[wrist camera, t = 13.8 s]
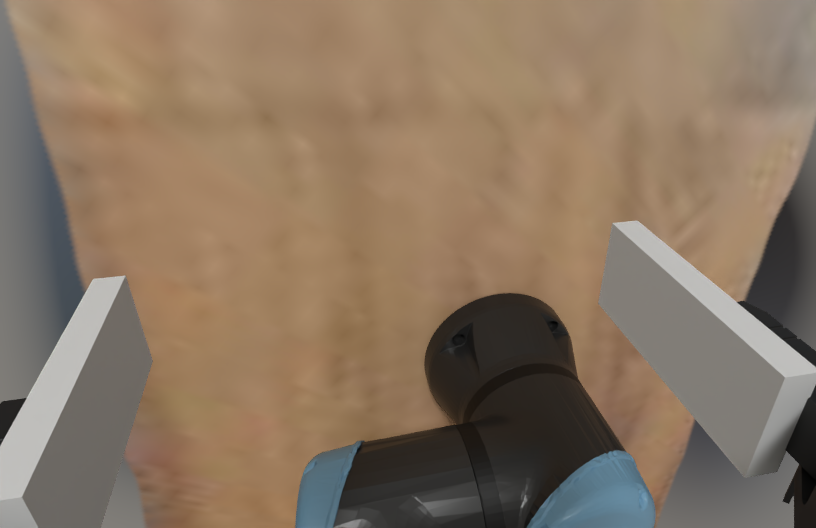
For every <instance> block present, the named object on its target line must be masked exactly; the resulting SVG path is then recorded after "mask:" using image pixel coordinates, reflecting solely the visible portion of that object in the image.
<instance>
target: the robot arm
mask: <svg viewBox="0 0 816 528" xmlns="http://www.w3.org/2000/svg"><path fill="white" fill-rule="evenodd" d="M598 304H599V305H600V306H601V307H602V309H603V310H604V311H605V312H606V313H607V315H608V316H609V317H610V318H611V319H612V320H613V322H614V323H615V324H616V325H617V326H618V328H619V329H620V330H621V331H622V332H623V334H624V335H625V336H626V337H627V338H628V340H629V341H630V342H631V343H632V344H633V345H634V347H635V348H636V349H637V350H638V351H639V353H640V354H641V355H642V356H643V357H644V359H645V360H646V361H647V362H648V363H649V365H650V366H651V367H652V368H653V369H654V370H655V372H656V373H657V374H658V375H659V376H660V378H661V379H662V380H663V381H664V382H665V384H666V385H667V386H668V387H669V388H670V390H671V391H672V392H673V393H674V394H675V395H676V397H677V398H678V399H679V400H680V401H681V403H682V404H683V405H684V406H685V407H686V409H687V410H688V411H689V412H690V413H691V415H692V416H693V417H694V418H695V419H696V420H697V422H698V423H699V424H700V425H701V426H702V427H703V429H704V430H705V431H706V432H707V433H708V435H709V436H710V437H711V438H712V439H713V441H714V442H715V443H716V444H717V445H718V447H719V448H720V449H721V450H722V451H723V453H724V454H725V455H726V456H727V457H728V459H729V460H730V461H731V462H732V463H733V465H734V466H735V467H736V468H737V469H738V470H739V472H740V473H741V474H742V475H743V476H744V478H746V477H752V476H757V475H763V474H768V473H774V472H777V471H778V469H779V467H780V464H781V462H782V460H783V457H784V455H785V453H786V451H787V452H788V453H789V454H790V455H791V456H792V457H793V458H794V459H795V460H796V461H797V462H798V463H799V466H798V468H797V470H796V473H795V475H794V477H793V479H792V481H791V483H790V485H789V488H788V490H787V492H786V494H785V497H784V499H783V501H784V502H786V503H788V504H789V502H790V500H791V498H792V496H794V528H816V351H815V350H814V349H812V348H811V347H810V346H808V345H807V344H806V343H805V342H803V341H802V340H801V339H797V336H796V335H795V334H793V333H792V332H791V331H790V330H788V329H787V328H783V325H782V324H780V323H779V322H778V321H777V320H776V319H774V318H773V317H772V316H771V315H769V314H768V313H767V312H765V311H763V310H761V309H759V308H757V307H755V306H753V305H751V304H749V303H747V302H744V301H740V302H736V301H735V300H733V299H732V298H731V297H730V296H728V295H727V294H726V293H725V292H724V291H722V290H721V289H720V288H719V287H718V286H716V285H715V284H714V283H713V282H711V281H710V280H709V279H708V278H707V277H705V276H704V275H703V274H702V273H700V272H699V271H698V270H697V269H696V268H694V267H693V266H692V265H691V264H690V263H688V262H687V261H686V260H685V259H683V258H682V257H681V256H680V255H679V254H677V253H676V252H675V251H674V250H672V249H671V248H670V247H669V246H668V245H666V244H665V243H664V242H663V241H662V240H660V239H659V238H658V237H657V236H655V235H654V234H653V233H652V232H651V231H649V230H648V229H647V228H646V227H644V226H643V225H642V224H641V223H640V222H638V221H629V222H619V223H612V228H611V234H610V240H609V245H608V251H607V257H606V262H605V268H604V274H603V280H602V285H601V291H600V297H599V303H598ZM152 362H153V360H152V357H151V354H150V351H149V348H148V345H147V341H146V338H145V335H144V332H143V329H142V326H141V323H140V319H139V316H138V313H137V310H136V307H135V304H134V300H133V297H132V294H131V291H130V288H129V285H128V282H127V278H126V276H117V277H108V278H99V279H93V280H92V282H91V284H90V286H89V287H88V289H87V291H86V293H85V295H84V297H83V298H82V300H81V302H80V304H79V305H78V307H77V309H76V311H75V313H74V314H73V316H72V318H71V320H70V322H69V323H68V325H67V327H66V329H65V331H64V333H63V334H62V336H61V338H60V340H59V341H58V343H57V345H56V347H55V348H54V350H53V352H52V354H51V356H50V358H49V359H48V361H47V363H46V365H45V366H44V368H43V370H42V372H41V374H40V375H39V377H38V379H37V381H36V383H35V384H34V386H33V388H32V390H31V392H30V393H29V395H28V397H27V398H24V399H17V400H9V401H3V402H2V403H1V404H0V528H101V525H102V522H103V519H104V515H105V512H106V509H107V506H108V502H109V499H110V496H111V493H112V489H113V487H114V483H115V480H116V477H117V474H118V471H119V467H120V464H121V461H122V458H123V455H124V451H125V448H126V445H127V442H128V439H129V435H130V432H131V429H132V426H133V423H134V419H135V416H136V413H137V410H138V407H139V403H140V400H141V397H142V394H143V391H144V387H145V384H146V381H147V378H148V375H149V371H150V368H151V365H152ZM425 373H426V377H427V380H428V383H429V386H430V389H431V392H432V394H433V396H434V398H435V399H436V401H437V402H438V404H439V405H440V406H441V407H442V408H443V409H444V410H445V411H446V413H447V414H448V415H449V416H450V417H451V418H452V419H453V420H454V421H455V423H456V424H457V425H451V426H446V427H441V428H436V429H431V430H425V431H420V432H415V433H410V434H405V435H400V436H395V437H390V438H385V439H379V440H373V441H368V442H365V441H357V442H356V443H355V444H353V445H349V446H346V447H342V448H338V449H334V450H330V451H326V452H322V453H320V454H318V455H316V456H315V457H314V458H313V459H312V460H311V461H310V462H309V463H308V465H307V466H306V468H305V470H304V473H303V476H302V479H301V483H300V488H299V494H298V501H297V511H296V525H295V528H654V523H655V506H654V501H653V498H652V496H651V494H650V492H649V490H648V488H647V486H646V484H645V483H644V481H643V479H642V477H641V475H640V473H639V471H638V470H637V467H636V463H635V461H634V459H633V458H632V456H631V455H630V454H628V453H627V452H626V451H625V449H624V448H623V446H622V445H621V443H620V442H619V440H618V438H617V437H616V435H615V434H614V432H613V431H612V429H611V428H610V426H609V425H608V423H607V422H606V420H605V419H604V417H603V416H602V414H601V413H600V411H599V410H598V408H597V407H596V405H595V404H594V402H593V401H592V399H591V398H590V396H589V395H588V393H587V392H586V390H585V389H584V388H583V386H582V384H581V383H580V381H579V380H578V376H577V371H576V365H575V359H574V354H573V348H572V342H571V339H570V336H569V333H568V331H567V329H566V327H565V326H564V324H563V323H562V321H561V320H560V318H559V317H558V315H557V314H556V313H555V312H554V310H553V309H552V308H551V307H550V306H548V305H547V304H546V303H544V302H542V301H541V300H539V299H536V298H534V297H531V296H527V295H523V294H513V293H507V294H497V295H491V296H487V297H484V298H481V299H478V300H475V301H473V302H471V303H469V304H467V305H465V306H463V307H462V308H460V309H458V310H457V311H456V312H454V313H453V314H452V315H450V316H449V317H448V318H447V319H446V320H445V321H444V322H443V323H442V324H441V325H440V326H439V328H438V329H437V330H436V332H435V333H434V335H433V336H432V338H431V340H430V342H429V345H428V347H427V350H426V355H425Z"/></svg>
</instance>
